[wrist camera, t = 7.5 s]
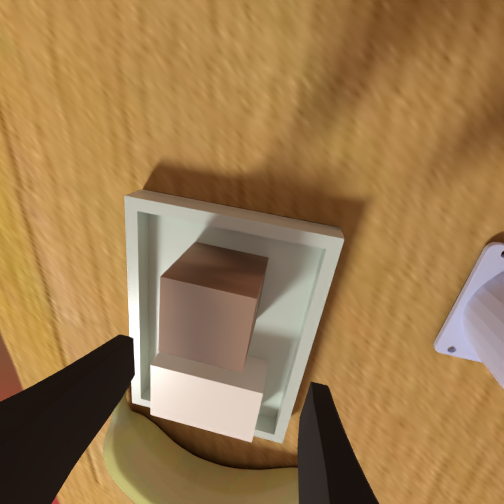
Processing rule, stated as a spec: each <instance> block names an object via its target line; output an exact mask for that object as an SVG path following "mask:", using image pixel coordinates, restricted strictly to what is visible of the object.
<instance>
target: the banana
mask: <svg viewBox="0 0 504 504" xmlns="http://www.w3.org/2000/svg"><path fill="white" fill-rule="evenodd" d="M103 455H104V460H105V463H106V467H107V469H108V471H109V473H110V475H111V477H112V478H113V480H114V481H115V483H116V484H117V485H118V486H119V487H120V488H121V490H122V491H123V492H124V493H125V494H126V495H127V496H128V497H129V498H131V499H132V500H133V501H134V502H135V503H136V504H299V491H298V468H296V467H289V468H277V469H264V470H250V469H236V468H230V467H225V466H221V465H218V464H215V463H212V462H209V461H206V460H203V459H201V458H198V457H196V456H194V455H193V454H191V453H189V452H188V451H186V450H185V449H183V448H181V447H180V446H179V445H177V444H176V443H175V442H173V441H172V440H171V439H170V438H169V437H168V436H167V435H166V434H165V433H164V432H163V431H162V430H161V429H160V428H159V427H158V426H157V425H155V424H154V423H153V422H152V421H150V420H149V419H148V418H146V417H145V416H143V415H141V414H139V413H135V412H132V411H131V410H130V408H129V405H128V402H127V399H126V392H125V394H124V396H123V397H122V399H121V401H120V402H119V404H118V405H117V406H116V408H115V409H114V411H113V413H112V418H111V422H110V425H109V428H108V430H107V433H106V435H105V439H104V445H103Z"/></svg>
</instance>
